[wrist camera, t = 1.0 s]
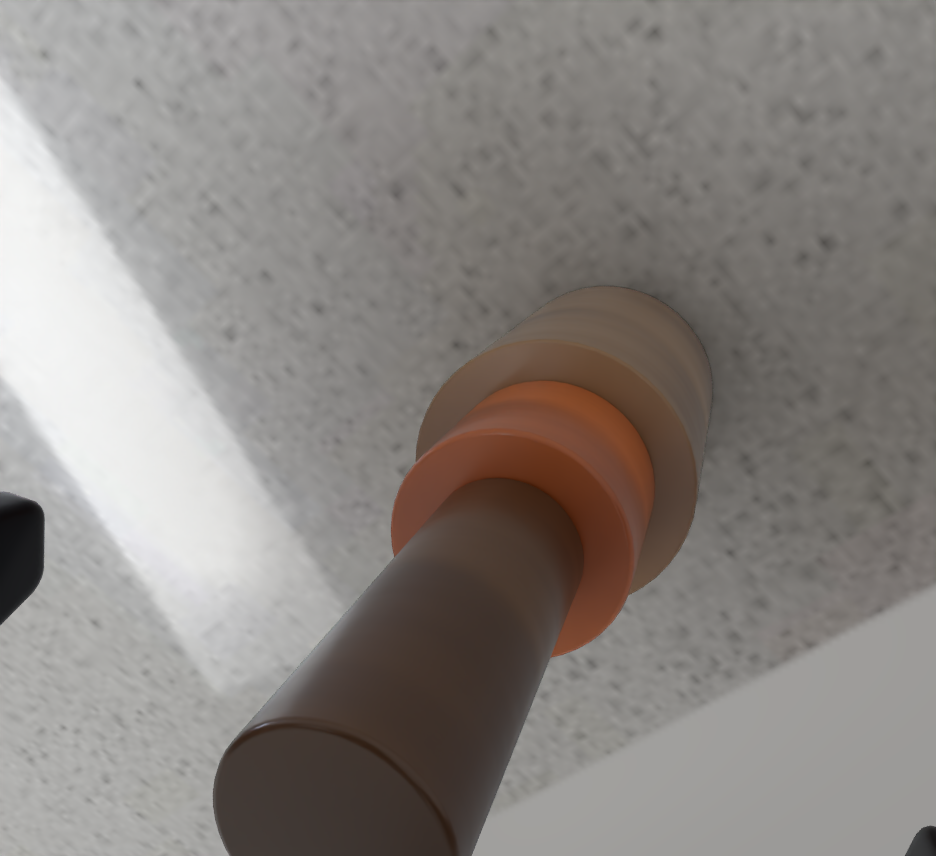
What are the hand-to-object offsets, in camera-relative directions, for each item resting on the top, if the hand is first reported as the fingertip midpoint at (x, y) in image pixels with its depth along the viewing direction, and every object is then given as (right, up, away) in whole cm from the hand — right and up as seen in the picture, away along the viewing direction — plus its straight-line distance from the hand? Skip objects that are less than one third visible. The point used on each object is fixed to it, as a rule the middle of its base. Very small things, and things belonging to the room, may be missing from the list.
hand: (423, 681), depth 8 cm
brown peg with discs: (+2, +2, +5) cm, 5 cm away
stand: (+3, +3, +10) cm, 11 cm away
